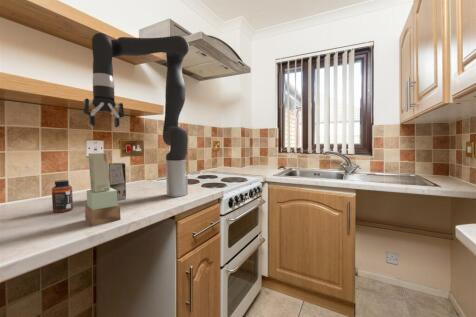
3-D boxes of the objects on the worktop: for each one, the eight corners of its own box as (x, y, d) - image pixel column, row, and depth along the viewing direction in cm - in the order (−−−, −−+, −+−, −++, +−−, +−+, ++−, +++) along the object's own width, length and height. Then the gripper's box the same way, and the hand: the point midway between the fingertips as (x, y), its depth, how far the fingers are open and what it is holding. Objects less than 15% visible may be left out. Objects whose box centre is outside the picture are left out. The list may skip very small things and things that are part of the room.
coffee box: (126, 199, 100) (125, 163, 99) (110, 201, 96) (109, 164, 95) (124, 195, 107) (123, 162, 106) (109, 196, 104) (108, 162, 103)
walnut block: (112, 214, 78) (111, 201, 78) (120, 220, 73) (120, 205, 72) (85, 220, 72) (84, 205, 72) (92, 226, 67) (91, 210, 67)
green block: (111, 201, 77) (110, 187, 77) (117, 205, 72) (117, 190, 72) (87, 205, 72) (86, 190, 72) (92, 210, 67) (91, 193, 67)
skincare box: (110, 190, 71) (108, 152, 70) (94, 192, 68) (92, 153, 67) (105, 187, 76) (103, 152, 75) (90, 189, 73) (88, 152, 72)
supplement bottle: (74, 210, 83) (73, 180, 82) (54, 214, 78) (52, 182, 78) (71, 207, 87) (69, 178, 86) (51, 210, 82) (49, 180, 81)
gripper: (119, 91, 98) (120, 128, 99) (80, 85, 88) (82, 126, 89) (125, 88, 93) (126, 127, 94) (85, 81, 83) (87, 125, 84)
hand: (105, 126), depth 91 cm, fingers open, 8 cm apart
